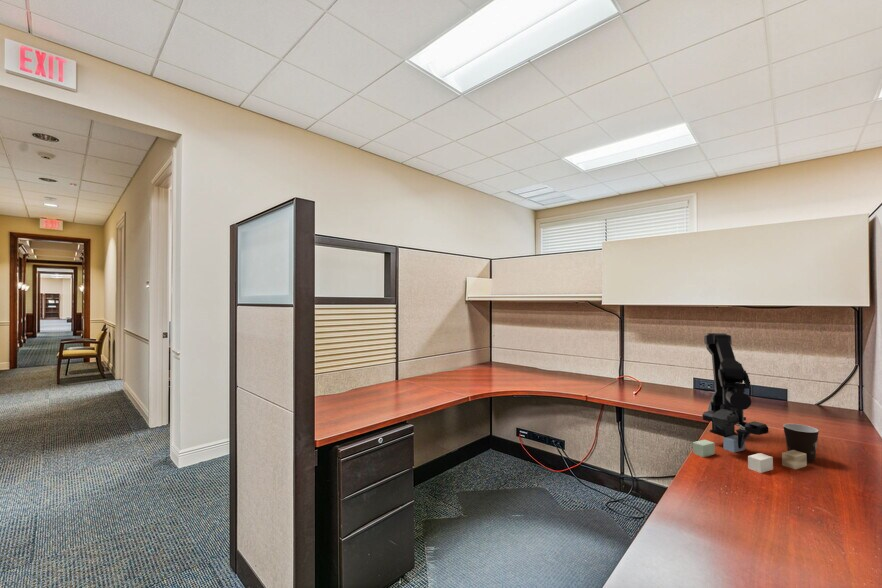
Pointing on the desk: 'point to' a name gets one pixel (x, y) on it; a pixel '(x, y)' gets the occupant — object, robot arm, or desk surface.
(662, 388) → the desk surface
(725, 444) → the blue block
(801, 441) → the coffee mug
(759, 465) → the cream block
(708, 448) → the sage block
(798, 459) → the maple block
